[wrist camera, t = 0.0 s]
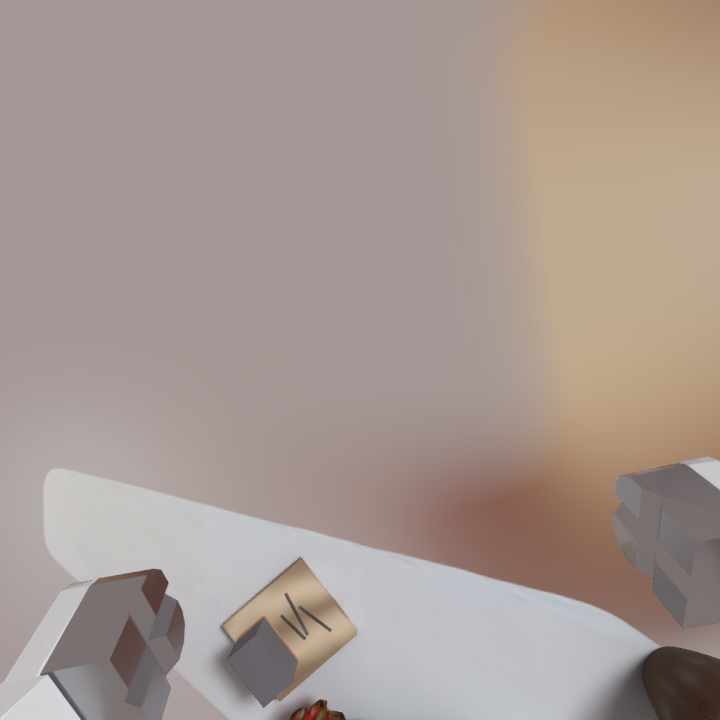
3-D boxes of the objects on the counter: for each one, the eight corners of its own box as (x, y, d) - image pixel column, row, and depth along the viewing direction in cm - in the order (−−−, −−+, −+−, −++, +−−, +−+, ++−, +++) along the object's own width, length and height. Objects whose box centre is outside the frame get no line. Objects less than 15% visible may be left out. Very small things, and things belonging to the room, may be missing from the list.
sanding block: (299, 659, 58) (292, 683, 53) (272, 682, 58) (264, 708, 53) (264, 614, 58) (255, 634, 53) (238, 637, 58) (226, 659, 53)
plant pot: (604, 621, 59) (691, 702, 43) (716, 608, 59) (845, 685, 43) (623, 741, 58) (721, 870, 42) (738, 728, 58) (880, 853, 42)
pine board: (357, 628, 59) (357, 634, 58) (282, 693, 59) (279, 701, 57) (300, 556, 60) (299, 560, 59) (226, 620, 60) (222, 626, 58)
